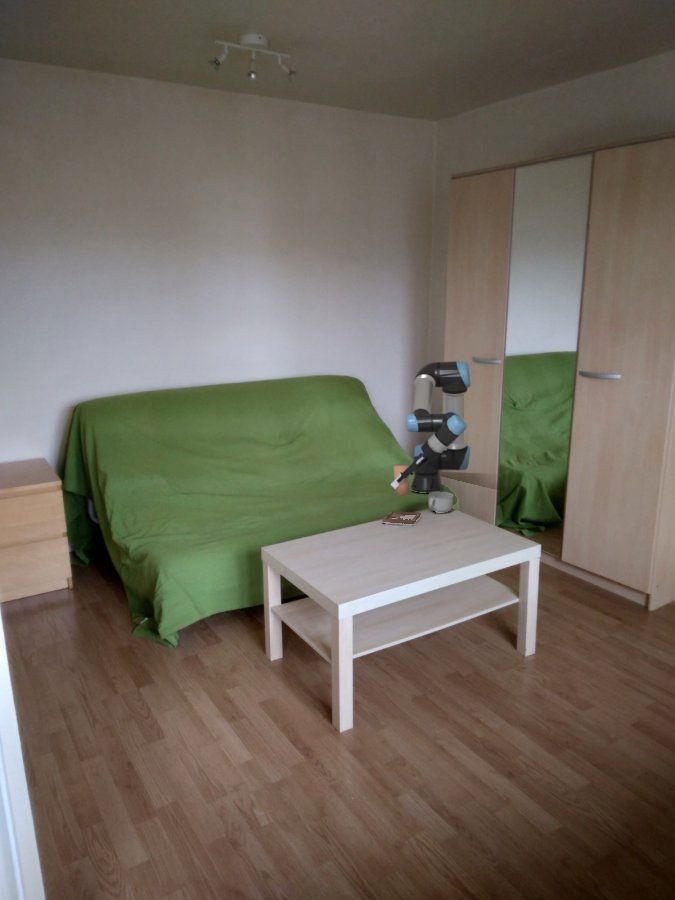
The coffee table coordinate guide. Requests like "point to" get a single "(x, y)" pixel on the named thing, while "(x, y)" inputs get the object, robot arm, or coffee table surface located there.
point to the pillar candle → (404, 486)
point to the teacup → (440, 501)
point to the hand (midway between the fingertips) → (395, 484)
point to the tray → (397, 514)
